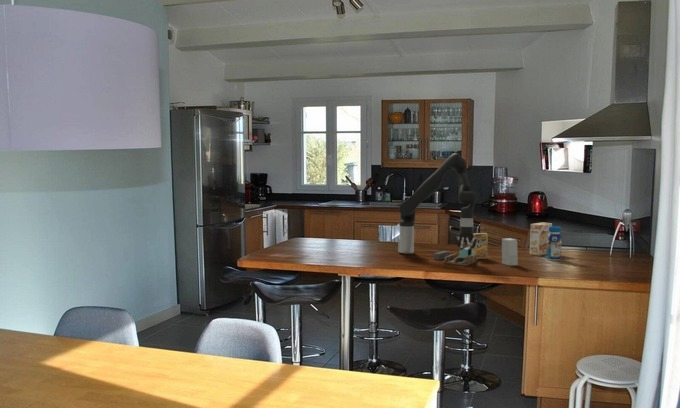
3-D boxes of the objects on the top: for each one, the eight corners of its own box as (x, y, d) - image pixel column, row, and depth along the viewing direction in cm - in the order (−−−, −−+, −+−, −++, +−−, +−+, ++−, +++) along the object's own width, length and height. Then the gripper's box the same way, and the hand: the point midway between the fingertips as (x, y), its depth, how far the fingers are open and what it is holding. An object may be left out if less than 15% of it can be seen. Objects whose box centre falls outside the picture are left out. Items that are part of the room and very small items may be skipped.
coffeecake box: (539, 255, 369) (540, 224, 367) (528, 254, 374) (529, 223, 373) (551, 253, 379) (552, 223, 377) (541, 251, 384) (542, 222, 383)
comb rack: (466, 265, 335) (466, 259, 335) (443, 263, 343) (443, 257, 342) (477, 260, 350) (477, 255, 350) (455, 258, 358) (455, 252, 358)
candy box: (474, 259, 356) (475, 234, 354) (470, 258, 360) (471, 233, 358) (487, 258, 358) (488, 233, 357) (483, 257, 362) (484, 232, 361)
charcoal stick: (438, 260, 353) (438, 253, 352) (433, 259, 355) (433, 253, 355) (449, 257, 361) (449, 251, 361) (444, 257, 364) (444, 250, 363)
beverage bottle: (550, 257, 362) (551, 225, 360) (563, 259, 356) (564, 226, 354) (543, 259, 356) (544, 226, 354) (557, 261, 350) (558, 228, 348)
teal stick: (466, 253, 351) (466, 247, 350) (472, 254, 349) (472, 247, 348) (459, 257, 341) (459, 250, 340) (465, 258, 339) (465, 251, 338)
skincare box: (517, 265, 337) (518, 239, 336) (508, 265, 336) (508, 240, 334) (510, 262, 345) (511, 237, 344) (500, 263, 344) (501, 237, 342)
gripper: (452, 225, 344) (452, 254, 345) (476, 227, 336) (475, 256, 338) (457, 224, 350) (456, 252, 352) (480, 225, 343) (479, 255, 344)
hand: (465, 254), depth 345 cm, fingers closed on teal stick, 3 cm apart
